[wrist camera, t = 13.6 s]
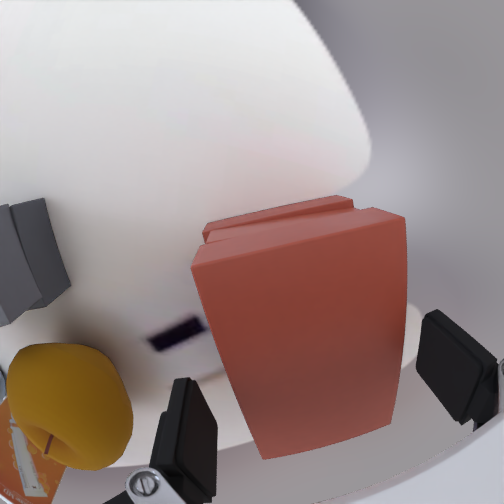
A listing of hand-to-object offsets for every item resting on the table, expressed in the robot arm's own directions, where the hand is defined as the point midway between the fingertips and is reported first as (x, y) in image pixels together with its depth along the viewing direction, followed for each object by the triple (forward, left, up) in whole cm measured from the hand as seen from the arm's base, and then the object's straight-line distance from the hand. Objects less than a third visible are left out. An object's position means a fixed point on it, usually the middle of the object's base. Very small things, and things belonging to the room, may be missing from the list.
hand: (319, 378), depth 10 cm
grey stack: (-18, +7, -7) cm, 20 cm away
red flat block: (0, 0, -2) cm, 2 cm away
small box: (-26, -8, -7) cm, 28 cm away
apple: (-15, -2, -7) cm, 17 cm away
